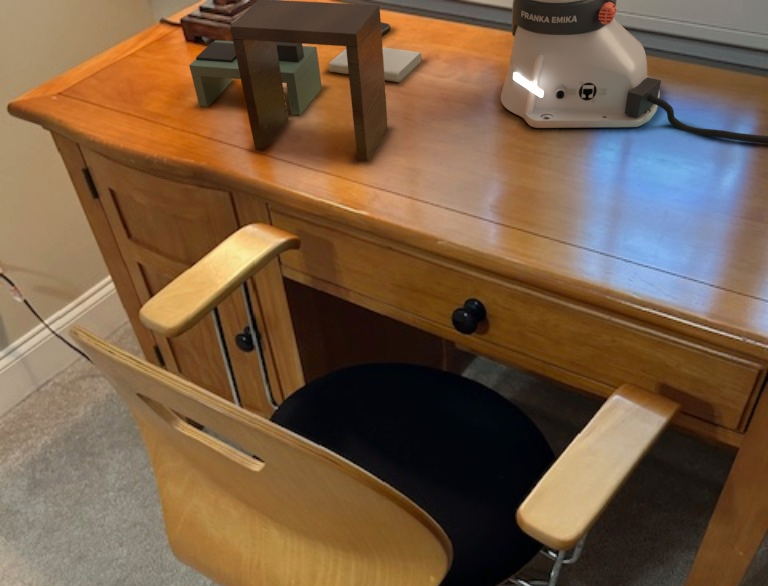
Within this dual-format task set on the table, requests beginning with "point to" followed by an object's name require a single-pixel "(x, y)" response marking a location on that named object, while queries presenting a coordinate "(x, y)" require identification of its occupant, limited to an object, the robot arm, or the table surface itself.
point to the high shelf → (321, 27)
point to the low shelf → (219, 75)
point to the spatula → (227, 53)
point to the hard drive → (393, 59)
